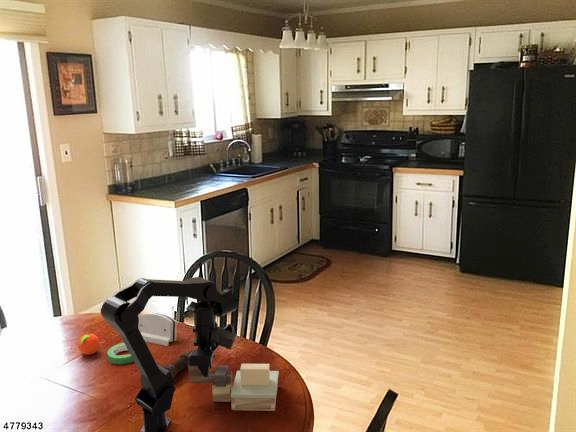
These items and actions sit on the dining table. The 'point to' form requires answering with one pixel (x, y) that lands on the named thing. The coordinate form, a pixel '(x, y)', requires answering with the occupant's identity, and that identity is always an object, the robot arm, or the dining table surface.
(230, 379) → the key
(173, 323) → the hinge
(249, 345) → the dining table surface
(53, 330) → the dining table surface
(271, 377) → the lid
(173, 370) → the bolt
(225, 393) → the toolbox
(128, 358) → the tape roll
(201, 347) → the robot arm
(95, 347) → the clementine
